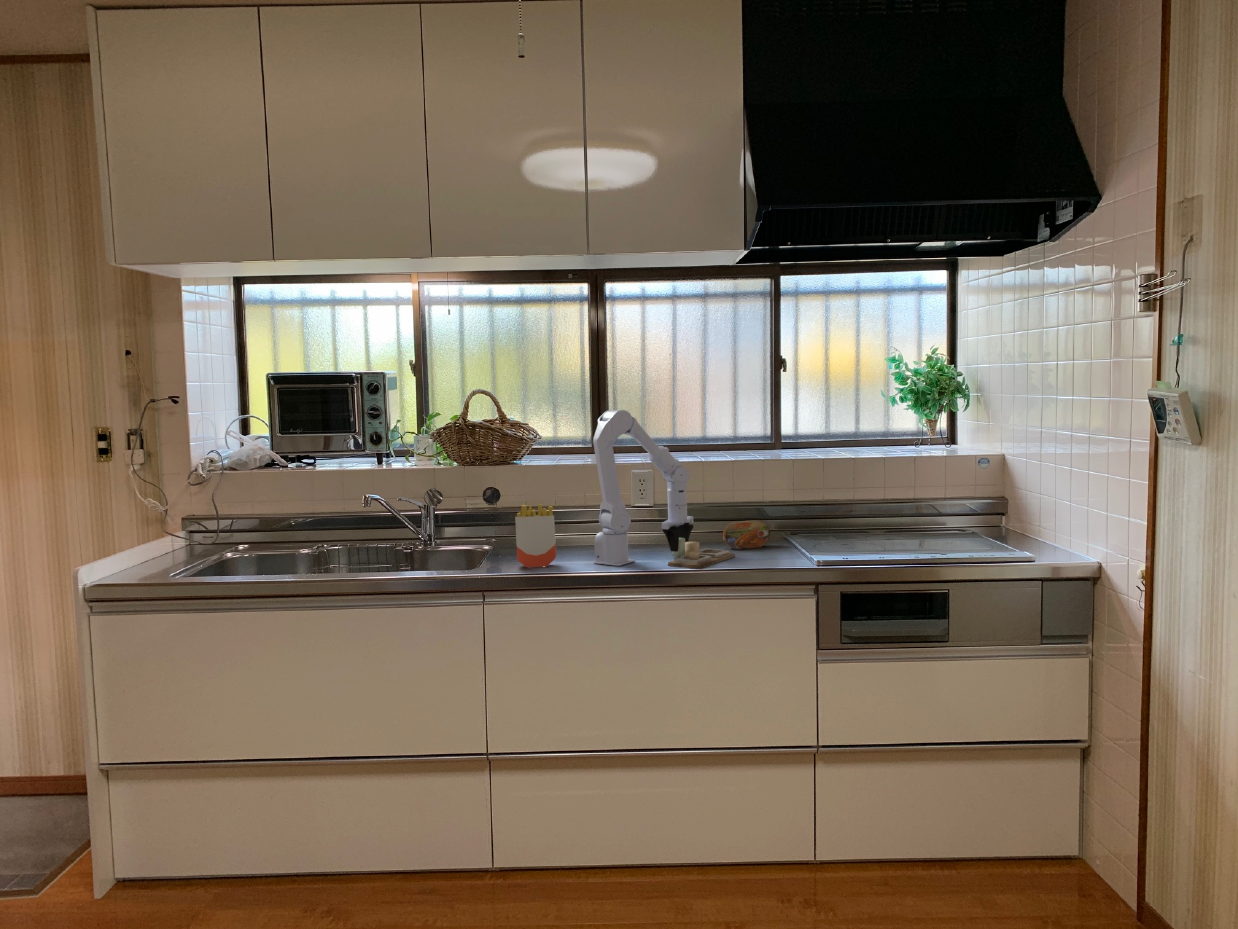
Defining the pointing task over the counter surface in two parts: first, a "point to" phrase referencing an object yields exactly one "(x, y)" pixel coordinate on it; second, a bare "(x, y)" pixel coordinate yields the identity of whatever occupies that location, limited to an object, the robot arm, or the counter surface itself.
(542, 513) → the french fries container
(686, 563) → the board
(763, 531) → the tin
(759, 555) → the counter surface
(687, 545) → the ash peg
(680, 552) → the sage peg
